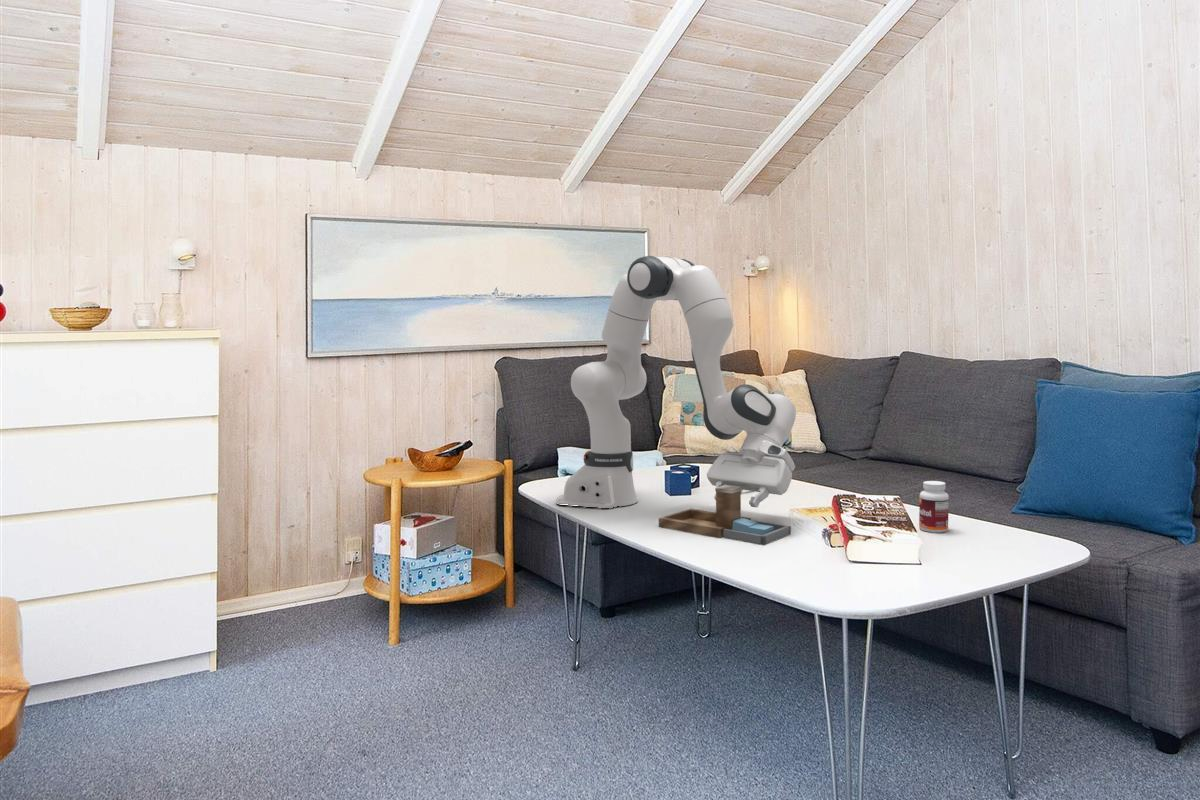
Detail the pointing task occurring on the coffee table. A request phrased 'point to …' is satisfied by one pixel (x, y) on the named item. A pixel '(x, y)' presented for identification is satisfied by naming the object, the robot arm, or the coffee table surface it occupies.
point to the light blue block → (760, 529)
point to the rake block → (727, 505)
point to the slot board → (693, 522)
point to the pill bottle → (934, 507)
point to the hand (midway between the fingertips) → (735, 502)
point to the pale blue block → (742, 524)
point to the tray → (764, 539)
